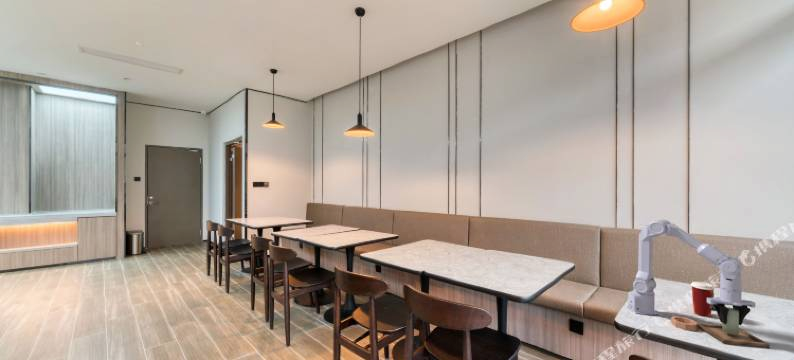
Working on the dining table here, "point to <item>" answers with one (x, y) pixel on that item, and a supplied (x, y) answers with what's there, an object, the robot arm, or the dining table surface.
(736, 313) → the green pin
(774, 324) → the dining table surface
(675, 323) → the orange octagonal ring
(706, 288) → the paper cup
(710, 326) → the serving tray
